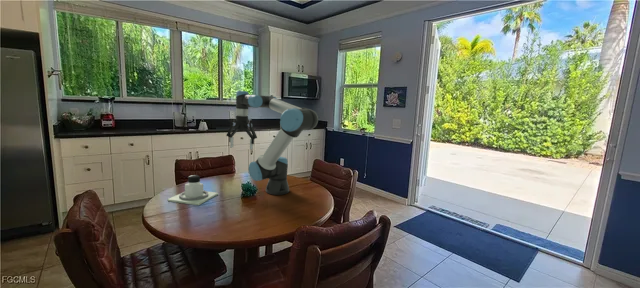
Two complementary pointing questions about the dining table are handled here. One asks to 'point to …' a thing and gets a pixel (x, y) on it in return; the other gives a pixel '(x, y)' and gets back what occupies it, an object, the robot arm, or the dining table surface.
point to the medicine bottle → (194, 187)
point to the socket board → (195, 201)
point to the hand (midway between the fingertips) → (241, 148)
